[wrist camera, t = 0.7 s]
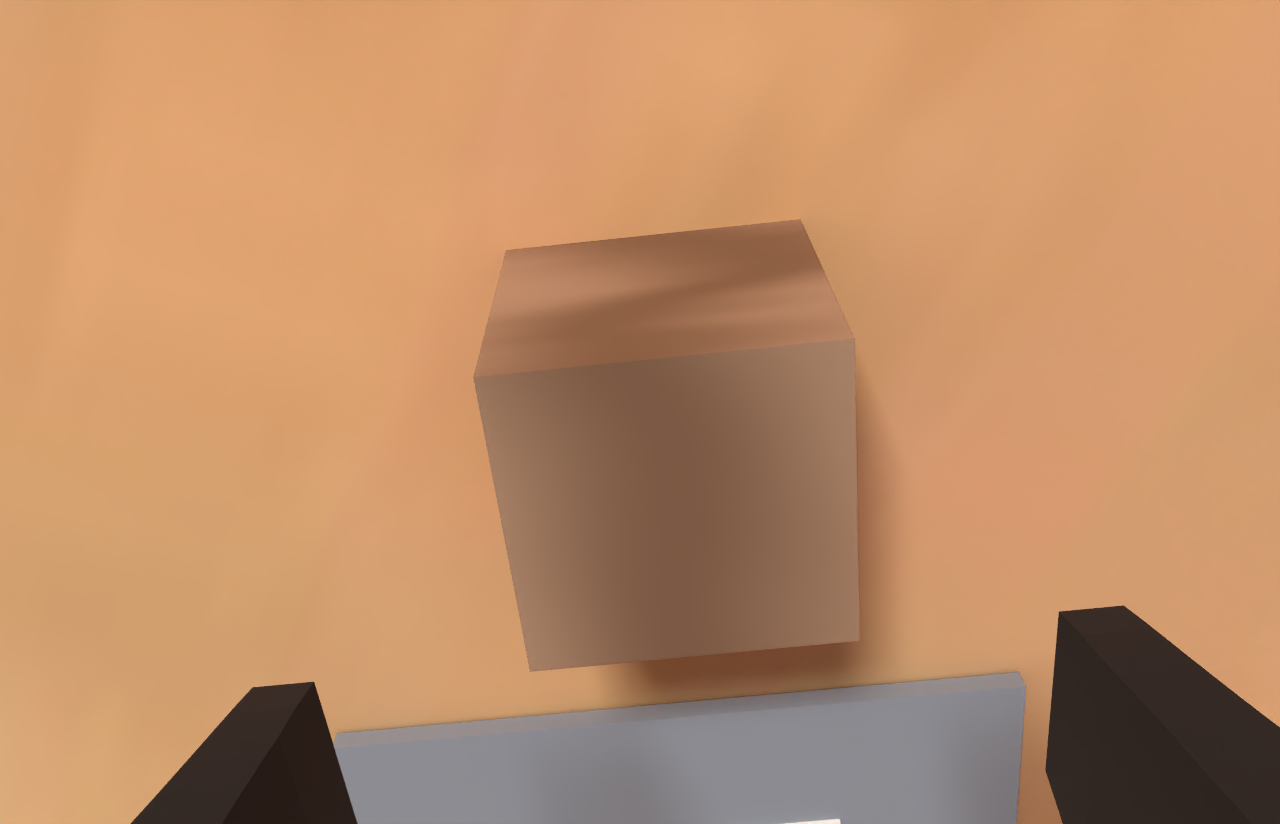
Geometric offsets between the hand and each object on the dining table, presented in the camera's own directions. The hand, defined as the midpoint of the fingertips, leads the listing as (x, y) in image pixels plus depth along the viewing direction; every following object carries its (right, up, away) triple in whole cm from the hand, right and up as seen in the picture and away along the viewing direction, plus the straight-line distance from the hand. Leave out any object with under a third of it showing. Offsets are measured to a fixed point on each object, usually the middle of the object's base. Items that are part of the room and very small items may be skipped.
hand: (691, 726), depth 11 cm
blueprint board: (+1, -7, +13) cm, 14 cm away
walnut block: (0, +4, +7) cm, 8 cm away
